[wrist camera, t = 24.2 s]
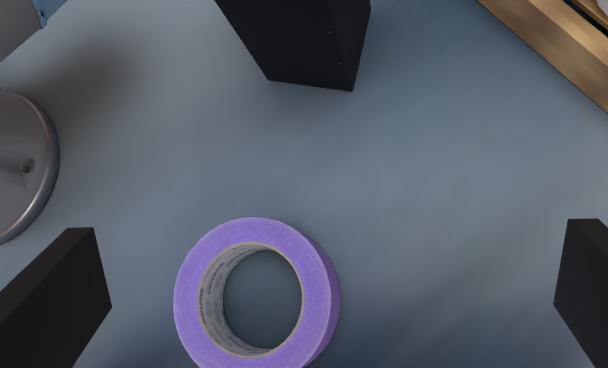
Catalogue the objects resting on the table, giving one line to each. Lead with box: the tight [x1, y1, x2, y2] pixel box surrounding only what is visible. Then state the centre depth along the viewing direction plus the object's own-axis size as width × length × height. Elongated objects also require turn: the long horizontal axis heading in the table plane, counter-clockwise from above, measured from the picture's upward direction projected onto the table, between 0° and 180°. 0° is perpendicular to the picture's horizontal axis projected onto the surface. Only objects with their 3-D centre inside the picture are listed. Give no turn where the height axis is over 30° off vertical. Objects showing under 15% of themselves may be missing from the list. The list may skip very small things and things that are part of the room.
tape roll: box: [173, 217, 341, 368], centre depth 38 cm, size 12×12×5 cm
